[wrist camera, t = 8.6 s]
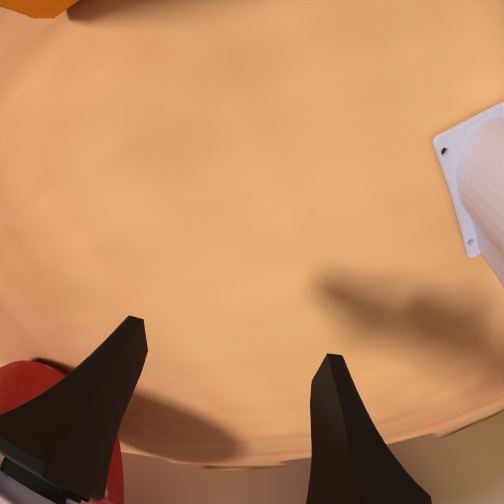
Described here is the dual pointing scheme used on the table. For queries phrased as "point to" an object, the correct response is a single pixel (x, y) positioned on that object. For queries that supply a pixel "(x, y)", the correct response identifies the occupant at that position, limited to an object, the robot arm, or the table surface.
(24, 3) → the bracket
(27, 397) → the mixing bowl
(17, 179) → the table surface
